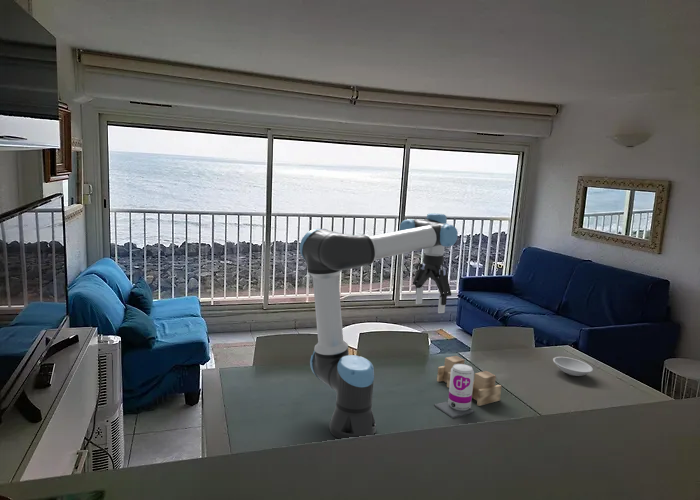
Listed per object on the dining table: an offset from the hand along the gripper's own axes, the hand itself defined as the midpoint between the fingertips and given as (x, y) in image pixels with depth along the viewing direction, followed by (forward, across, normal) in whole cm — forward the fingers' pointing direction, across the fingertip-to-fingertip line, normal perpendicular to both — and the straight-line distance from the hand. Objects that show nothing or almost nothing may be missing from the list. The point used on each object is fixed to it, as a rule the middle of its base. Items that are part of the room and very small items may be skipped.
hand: (429, 308), depth 189 cm
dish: (+33, -16, -70) cm, 79 cm away
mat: (+33, -19, +1) cm, 38 cm away
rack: (+33, -9, -15) cm, 37 cm away
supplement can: (+32, -19, -2) cm, 38 cm away
